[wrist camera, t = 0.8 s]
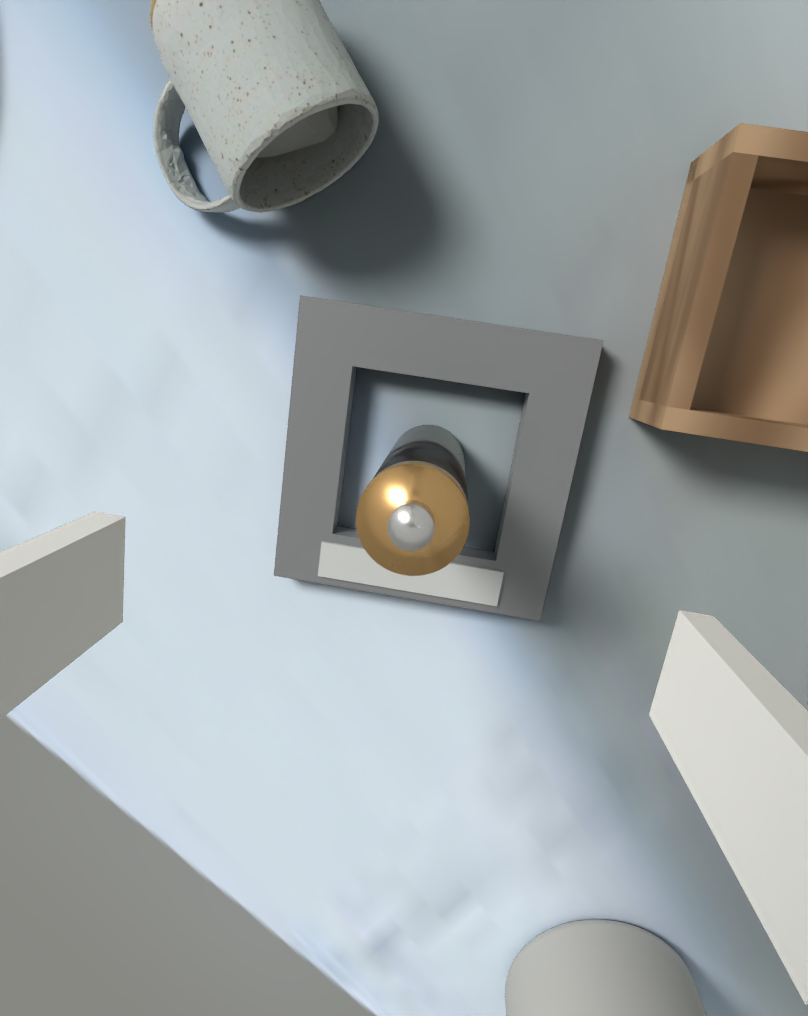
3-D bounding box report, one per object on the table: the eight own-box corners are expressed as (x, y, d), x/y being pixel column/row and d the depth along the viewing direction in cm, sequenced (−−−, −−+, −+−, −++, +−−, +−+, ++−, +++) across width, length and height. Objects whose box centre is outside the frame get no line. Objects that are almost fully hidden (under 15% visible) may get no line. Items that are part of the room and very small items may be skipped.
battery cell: (396, 419, 32) (359, 461, 20) (470, 430, 32) (479, 480, 20) (386, 491, 33) (345, 573, 21) (458, 502, 33) (459, 593, 21)
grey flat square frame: (307, 297, 31) (299, 294, 29) (596, 341, 30) (604, 340, 29) (281, 566, 35) (272, 576, 33) (536, 609, 34) (540, 622, 33)
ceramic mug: (304, -20, 27) (247, -147, 20) (392, 144, 29) (367, 77, 22) (136, 116, 30) (32, 44, 23) (225, 262, 31) (153, 237, 24)
